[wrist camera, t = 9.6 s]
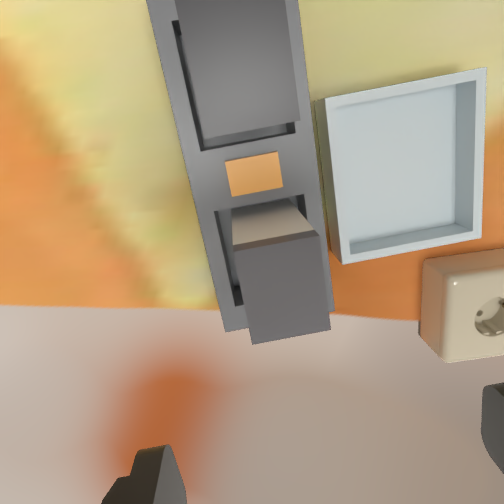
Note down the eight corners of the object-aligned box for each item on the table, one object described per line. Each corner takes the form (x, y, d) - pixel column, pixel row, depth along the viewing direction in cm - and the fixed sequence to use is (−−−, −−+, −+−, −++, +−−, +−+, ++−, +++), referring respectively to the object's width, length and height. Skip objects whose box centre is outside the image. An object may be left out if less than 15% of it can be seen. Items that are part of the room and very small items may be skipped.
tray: (458, 73, 24) (486, 66, 21) (456, 226, 27) (481, 237, 25) (314, 101, 24) (324, 98, 21) (331, 251, 27) (342, 264, 25)
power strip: (157, 8, 22) (104, -79, 12) (281, -16, 22) (321, -120, 12) (225, 304, 28) (224, 391, 19) (320, 286, 28) (365, 364, 19)
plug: (288, 198, 25) (319, 235, 17) (298, 264, 27) (331, 329, 18) (231, 209, 25) (233, 252, 17) (244, 275, 27) (252, 344, 18)
